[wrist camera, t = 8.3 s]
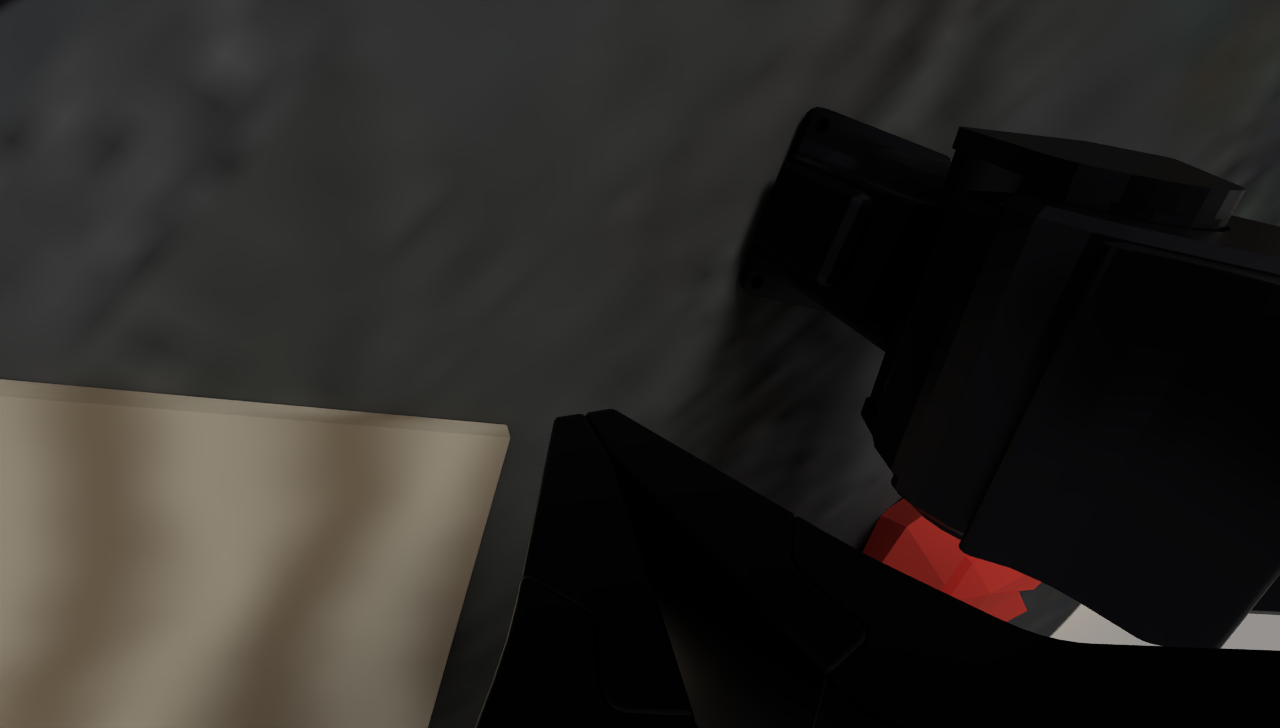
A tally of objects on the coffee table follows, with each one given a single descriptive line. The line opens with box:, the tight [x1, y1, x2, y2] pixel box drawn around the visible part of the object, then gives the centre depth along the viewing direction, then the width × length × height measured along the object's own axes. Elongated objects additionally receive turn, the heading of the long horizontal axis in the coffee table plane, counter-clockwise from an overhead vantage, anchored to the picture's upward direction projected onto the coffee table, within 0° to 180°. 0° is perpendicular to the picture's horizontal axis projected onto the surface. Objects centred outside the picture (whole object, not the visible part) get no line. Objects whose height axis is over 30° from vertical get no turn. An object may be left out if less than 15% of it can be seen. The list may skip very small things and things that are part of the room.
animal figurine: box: [863, 498, 1041, 622], centre depth 34 cm, size 12×15×5 cm
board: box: [0, 379, 510, 728], centre depth 22 cm, size 25×25×1 cm
